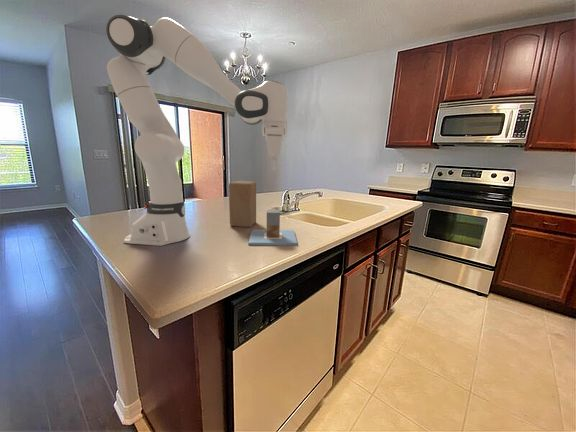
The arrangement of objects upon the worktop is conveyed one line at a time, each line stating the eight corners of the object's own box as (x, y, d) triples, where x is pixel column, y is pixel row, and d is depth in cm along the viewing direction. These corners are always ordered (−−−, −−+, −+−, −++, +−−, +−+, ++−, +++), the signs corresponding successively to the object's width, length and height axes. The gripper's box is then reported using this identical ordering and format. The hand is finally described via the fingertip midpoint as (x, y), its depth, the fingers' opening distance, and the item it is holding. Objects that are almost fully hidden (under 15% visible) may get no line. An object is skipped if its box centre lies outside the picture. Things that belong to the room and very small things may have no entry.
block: (249, 228, 114) (249, 183, 109) (229, 226, 116) (227, 182, 111) (256, 222, 124) (256, 181, 119) (237, 220, 126) (236, 180, 121)
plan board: (248, 245, 93) (248, 242, 93) (252, 232, 109) (251, 229, 108) (297, 245, 94) (297, 242, 94) (293, 232, 110) (293, 229, 109)
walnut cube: (266, 237, 98) (266, 225, 97) (266, 233, 103) (266, 221, 102) (279, 237, 99) (279, 225, 98) (279, 233, 104) (279, 221, 102)
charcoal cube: (266, 225, 97) (266, 212, 96) (266, 221, 102) (267, 209, 101) (279, 225, 98) (279, 212, 96) (279, 221, 102) (279, 209, 101)
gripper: (266, 133, 101) (266, 168, 105) (264, 128, 82) (264, 171, 85) (282, 133, 102) (281, 168, 105) (284, 129, 82) (283, 172, 85)
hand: (273, 170), depth 95 cm, fingers open, 8 cm apart
